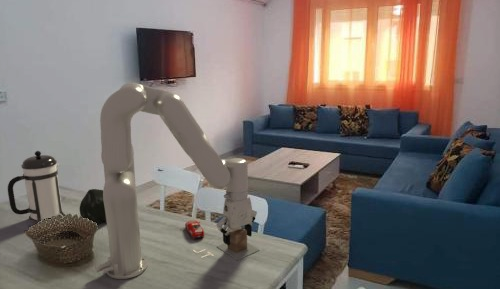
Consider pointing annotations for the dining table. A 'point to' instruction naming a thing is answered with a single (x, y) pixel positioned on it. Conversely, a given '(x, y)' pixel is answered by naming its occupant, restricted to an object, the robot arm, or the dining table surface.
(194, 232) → the race car
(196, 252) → the card
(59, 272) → the dining table surface
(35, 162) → the coffee press
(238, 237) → the walnut block
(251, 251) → the pad
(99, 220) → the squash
